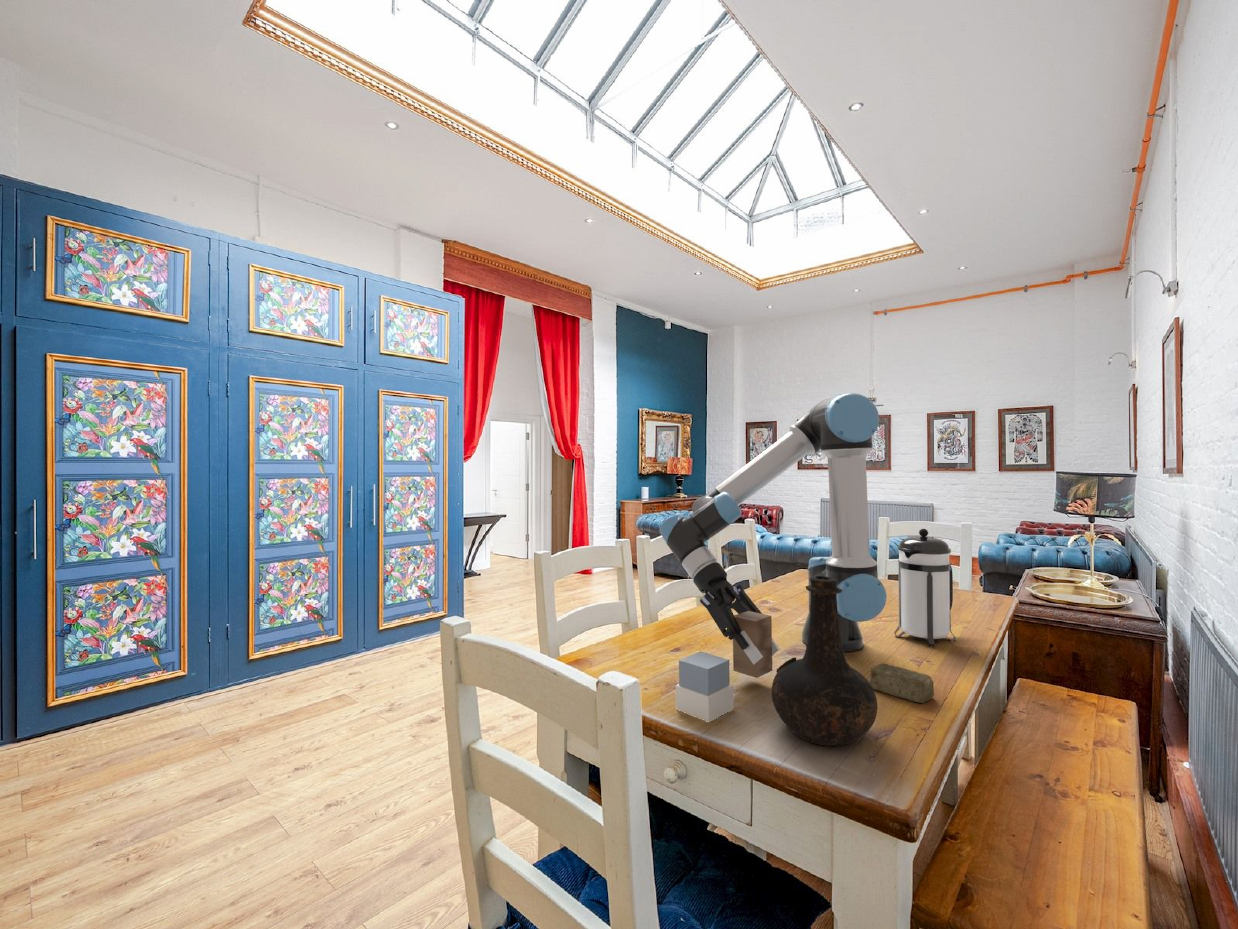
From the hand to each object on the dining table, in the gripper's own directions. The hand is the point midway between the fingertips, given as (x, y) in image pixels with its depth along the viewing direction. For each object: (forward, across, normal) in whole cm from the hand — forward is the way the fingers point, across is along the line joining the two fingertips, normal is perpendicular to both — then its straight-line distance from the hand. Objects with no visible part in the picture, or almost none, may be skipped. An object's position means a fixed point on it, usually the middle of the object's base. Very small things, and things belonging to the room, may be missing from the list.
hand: (767, 656), depth 121 cm
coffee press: (+13, -62, +2) cm, 63 cm away
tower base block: (+3, +18, -7) cm, 19 cm away
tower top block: (-1, +18, -3) cm, 18 cm away
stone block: (+20, -18, +9) cm, 28 cm away
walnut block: (0, 0, -5) cm, 5 cm away
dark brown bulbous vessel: (+18, +10, +8) cm, 22 cm away
